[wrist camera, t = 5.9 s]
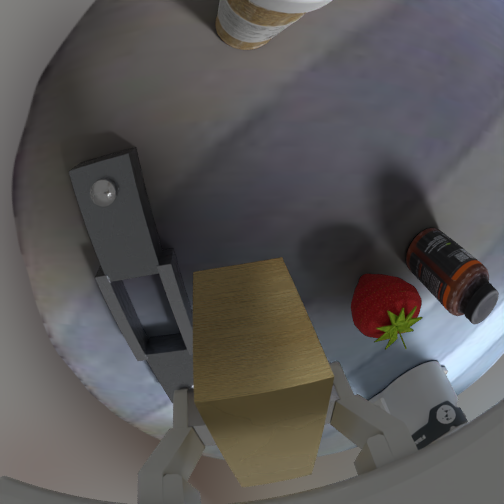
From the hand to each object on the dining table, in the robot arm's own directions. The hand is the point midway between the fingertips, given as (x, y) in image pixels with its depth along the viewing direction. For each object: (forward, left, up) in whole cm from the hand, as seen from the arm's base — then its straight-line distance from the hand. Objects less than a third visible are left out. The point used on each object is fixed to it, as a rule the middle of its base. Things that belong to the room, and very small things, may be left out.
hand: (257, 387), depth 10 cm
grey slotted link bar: (-8, +8, -17) cm, 21 cm away
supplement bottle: (-8, -22, -17) cm, 29 cm away
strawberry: (-10, -14, -17) cm, 24 cm away
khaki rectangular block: (0, 0, -2) cm, 2 cm away
